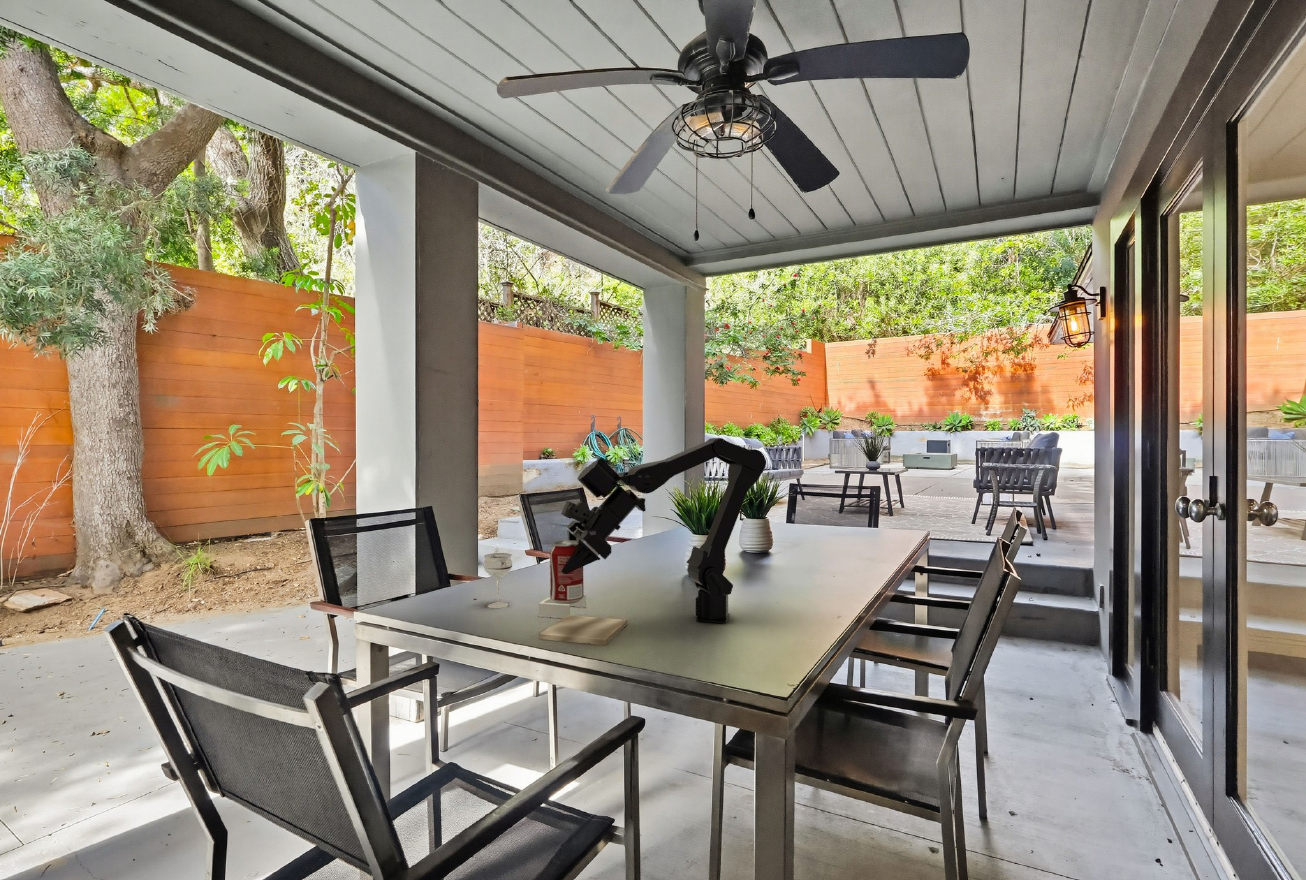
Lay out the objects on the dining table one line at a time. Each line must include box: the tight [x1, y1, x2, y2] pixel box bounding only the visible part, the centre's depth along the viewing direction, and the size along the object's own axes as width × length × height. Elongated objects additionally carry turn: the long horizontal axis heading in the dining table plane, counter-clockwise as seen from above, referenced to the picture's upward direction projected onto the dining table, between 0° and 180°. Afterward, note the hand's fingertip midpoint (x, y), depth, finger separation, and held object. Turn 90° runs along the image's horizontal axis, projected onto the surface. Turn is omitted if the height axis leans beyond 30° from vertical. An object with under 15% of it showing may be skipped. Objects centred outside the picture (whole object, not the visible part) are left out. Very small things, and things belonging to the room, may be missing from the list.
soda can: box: [549, 539, 585, 604], centre depth 129 cm, size 7×7×12 cm
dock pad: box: [538, 614, 629, 646], centre depth 131 cm, size 14×14×1 cm
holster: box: [537, 593, 587, 619], centre depth 146 cm, size 7×11×3 cm
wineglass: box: [483, 552, 513, 609], centre depth 152 cm, size 7×7×12 cm
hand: (560, 569), depth 129 cm, fingers closed on soda can, 7 cm apart
